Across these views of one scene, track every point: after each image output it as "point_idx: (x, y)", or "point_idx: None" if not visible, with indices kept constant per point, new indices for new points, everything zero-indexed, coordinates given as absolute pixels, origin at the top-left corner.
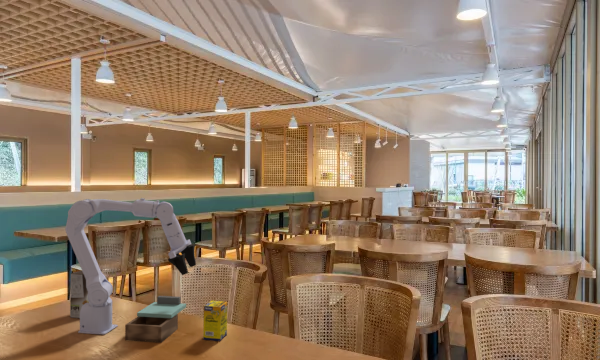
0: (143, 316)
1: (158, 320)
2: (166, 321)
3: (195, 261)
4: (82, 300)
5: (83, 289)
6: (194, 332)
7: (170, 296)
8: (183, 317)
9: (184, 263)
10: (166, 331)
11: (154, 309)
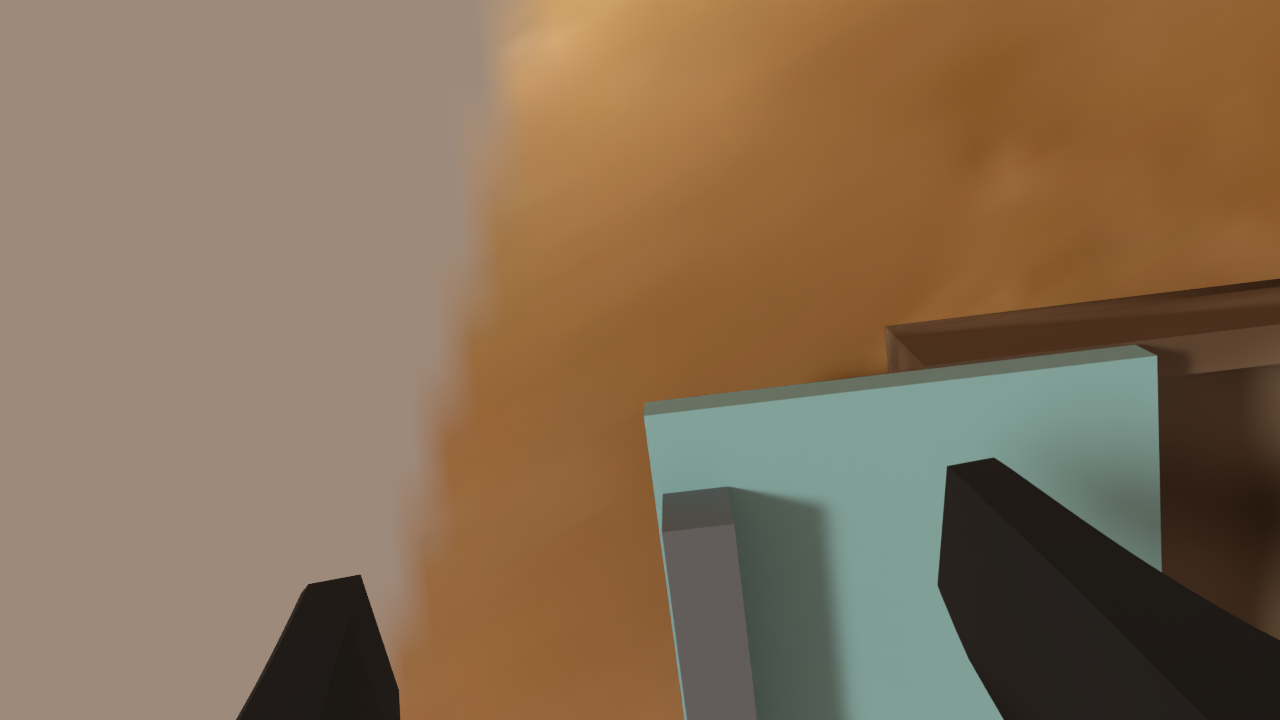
0: None
1: None
2: (1224, 354)
3: (292, 646)
4: None
5: None
6: (939, 82)
7: (691, 682)
8: (519, 462)
9: (1242, 637)
10: (1216, 305)
11: None
